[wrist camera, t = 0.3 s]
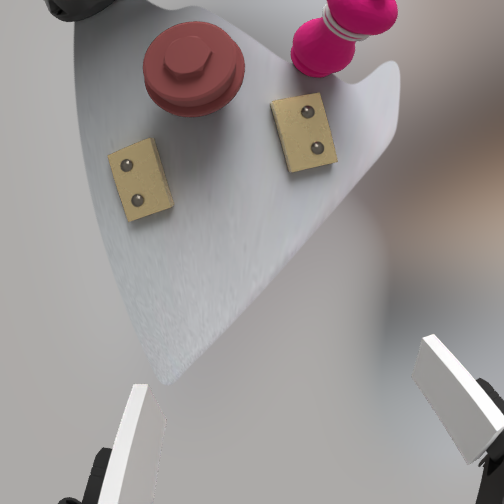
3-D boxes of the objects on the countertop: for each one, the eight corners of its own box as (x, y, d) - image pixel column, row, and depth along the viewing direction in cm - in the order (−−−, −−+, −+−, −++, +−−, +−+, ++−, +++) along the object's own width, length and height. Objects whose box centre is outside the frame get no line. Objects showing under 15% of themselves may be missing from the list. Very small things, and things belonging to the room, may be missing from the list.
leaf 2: (270, 104, 31) (272, 100, 29) (315, 95, 31) (320, 91, 29) (288, 171, 34) (292, 172, 32) (332, 161, 34) (338, 161, 32)
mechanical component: (258, 91, 31) (195, 140, 32) (208, 40, 28) (147, 87, 29) (271, 59, 19) (175, 132, 21) (198, -7, 16) (110, 59, 18)
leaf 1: (113, 155, 32) (106, 155, 30) (154, 138, 32) (148, 137, 30) (133, 218, 35) (127, 222, 33) (174, 204, 35) (170, 207, 33)
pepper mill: (336, 37, 28) (412, -33, 9) (342, 83, 31) (434, 33, 12) (284, 33, 28) (328, -57, 9) (288, 80, 30) (346, 8, 12)
